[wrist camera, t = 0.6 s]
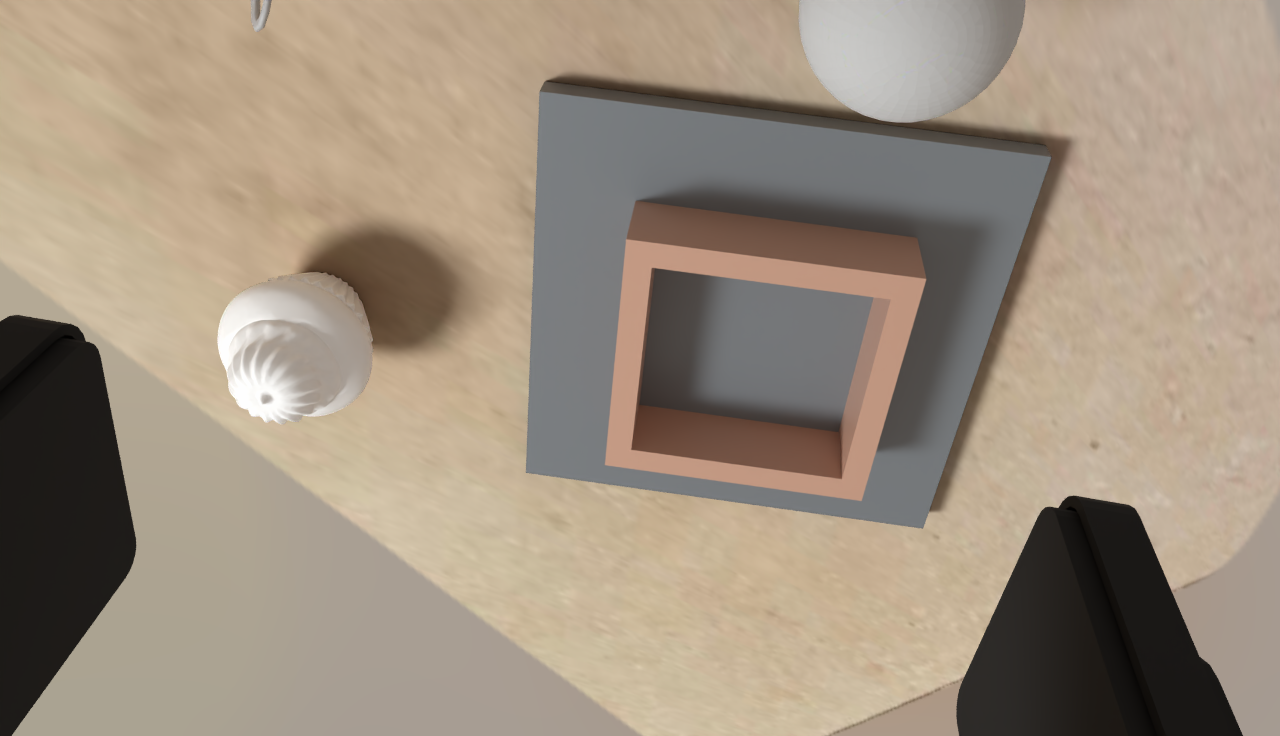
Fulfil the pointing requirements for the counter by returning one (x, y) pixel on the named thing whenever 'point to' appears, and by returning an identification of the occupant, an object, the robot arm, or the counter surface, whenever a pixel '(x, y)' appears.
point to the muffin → (296, 347)
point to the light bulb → (908, 52)
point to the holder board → (763, 299)
